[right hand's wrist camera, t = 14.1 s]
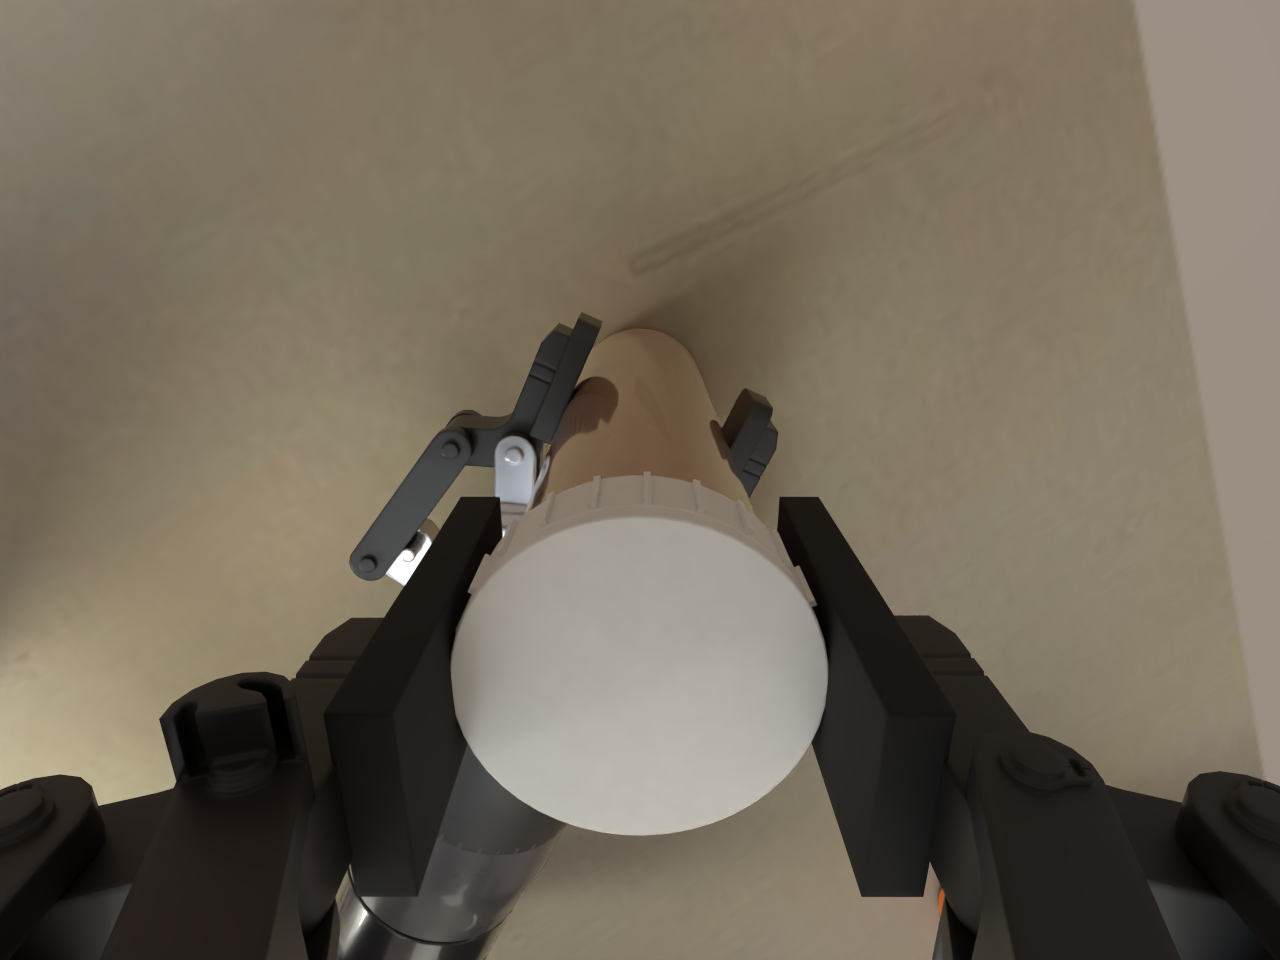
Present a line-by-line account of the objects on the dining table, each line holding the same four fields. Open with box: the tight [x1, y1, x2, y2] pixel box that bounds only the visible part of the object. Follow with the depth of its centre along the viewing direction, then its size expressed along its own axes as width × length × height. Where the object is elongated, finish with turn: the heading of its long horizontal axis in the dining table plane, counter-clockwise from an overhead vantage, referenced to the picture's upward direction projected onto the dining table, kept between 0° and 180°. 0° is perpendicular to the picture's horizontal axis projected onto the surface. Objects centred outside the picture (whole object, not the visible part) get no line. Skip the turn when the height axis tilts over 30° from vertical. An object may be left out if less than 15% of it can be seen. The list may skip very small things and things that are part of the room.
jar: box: [523, 328, 756, 517], centre depth 20 cm, size 5×5×19 cm
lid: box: [450, 471, 829, 835], centre depth 11 cm, size 6×6×2 cm
